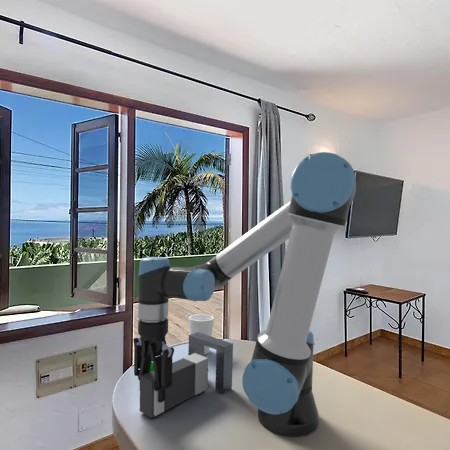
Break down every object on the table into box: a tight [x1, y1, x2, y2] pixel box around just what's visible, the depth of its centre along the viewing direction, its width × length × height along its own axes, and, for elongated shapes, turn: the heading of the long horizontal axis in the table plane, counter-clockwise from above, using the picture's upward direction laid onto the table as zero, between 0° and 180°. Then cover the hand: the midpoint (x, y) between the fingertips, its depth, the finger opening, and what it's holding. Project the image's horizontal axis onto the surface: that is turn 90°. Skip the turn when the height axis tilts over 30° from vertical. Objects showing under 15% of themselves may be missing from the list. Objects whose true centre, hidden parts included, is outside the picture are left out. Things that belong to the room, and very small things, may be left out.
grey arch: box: [187, 332, 234, 395], centre depth 104 cm, size 14×4×14 cm, turn 50°
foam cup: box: [188, 313, 215, 355], centre depth 129 cm, size 10×9×13 cm
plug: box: [139, 353, 209, 419], centre depth 94 cm, size 6×22×9 cm, turn 140°
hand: (151, 408), depth 87 cm, fingers closed on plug, 5 cm apart
